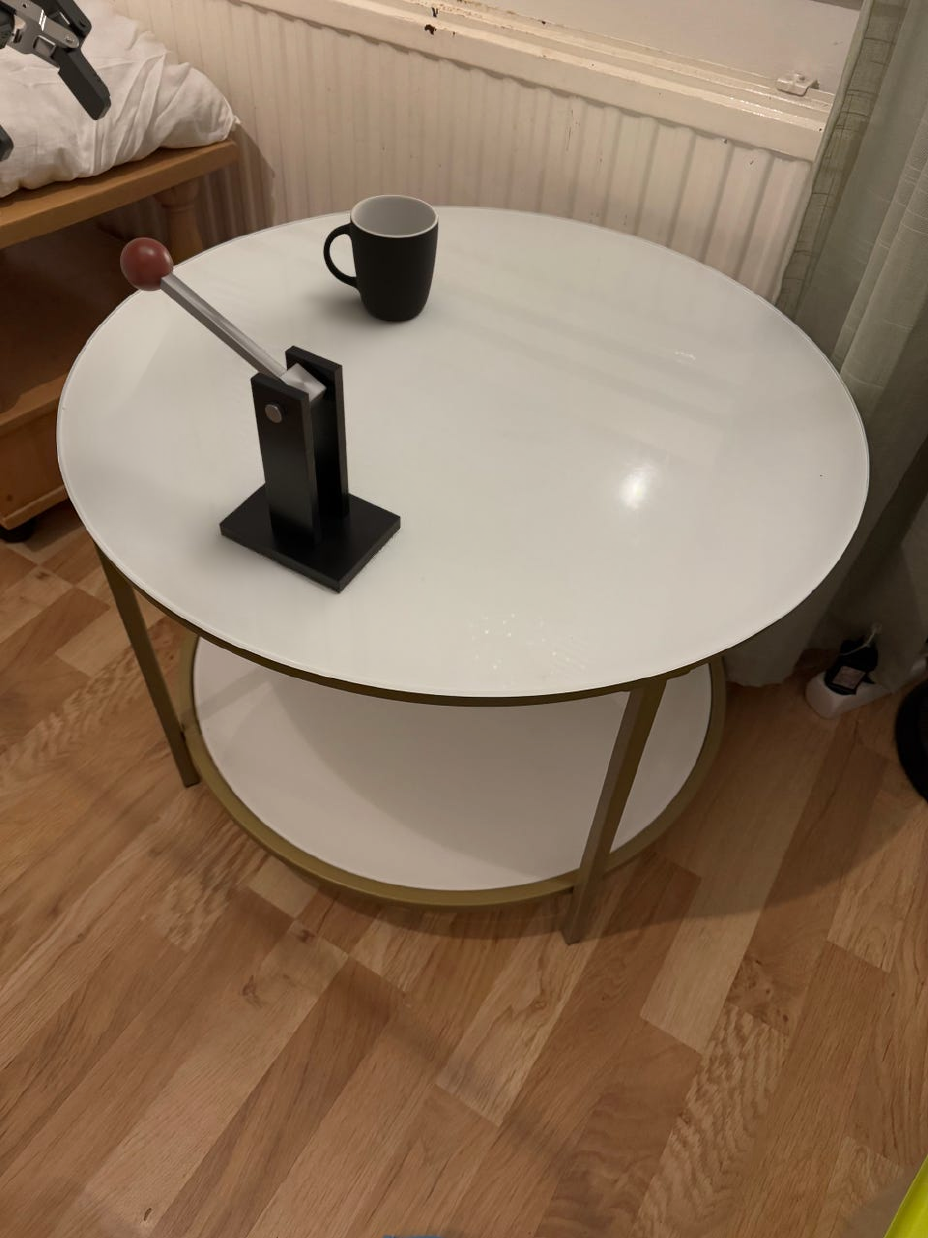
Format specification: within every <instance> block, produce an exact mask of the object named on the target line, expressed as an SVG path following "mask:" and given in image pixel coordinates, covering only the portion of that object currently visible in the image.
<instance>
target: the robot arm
mask: <svg viewBox="0 0 928 1238" xmlns="http://www.w3.org/2000/svg"><path fill="white" fill-rule="evenodd" d="M16 17H17V18H20V19H21V20H22V21H23V22H24V25H23V27H22V28H16ZM92 28H93V25H92V22H91V21H90V19H89V18H88V16H86V14H85V13H84V11H83V10H82V9H81V7H80V6H79V5H78V4H77V3H76V1H75V0H0V50H3V49H5V48H6V46H7V47H10V48H11V49H13V50H14V51H16V52H18V53H19V54H22V55H34V56H35V57H37V58H39V59H41V60H43V61H45V62H46V63H48V64H49V65H51V66H53V67H55V68H56V69H59V70H58V71H57V75H58V77H59V78H60V79H61V80H62V82H63V83H64V84H65V86H66V88H68V90H69V91H70V92H71V94H72V95H73V96H74V98H75V99H76V101H77V102H78V103H79V104H80V106H81V107H82V109H84V111H85V112H86V113H87V115H88V116H89V118H90V119H91V120H92V121H95V122H96V121H99V120H101V119H103V118H105V116H106V115H107V113H108V112H109V110H110V109H111V107H112V99H111V93H110V90H109V87H108V86H107V84H105V82H104V81H103V80H102V77H100V76H99V74H98V73H97V71H96V70H95V68H94V67H93V66H92V64H91V63H90V61H89V60H88V58H86V56H85V55H84V53H83V51H82V48H83V45H84V43H85V41H86V39H87V38H88V36H89V34H90V33H91V31H92ZM44 38H45V39H44ZM14 148H15V144H14V141H13V139H12V137H11V136H10V135H9V133H8V132H7V131H6V130H5V129H4V127H3V126H2V125H1V124H0V163H2V162H5V161H7V160H9V158H10V156H11V154H12V152H13V150H14Z"/></svg>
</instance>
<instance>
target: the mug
mask: <svg viewBox="0 0 928 1238" xmlns="http://www.w3.org/2000/svg"><path fill="white" fill-rule="evenodd" d="M342 235H346V236H348V237H349V240H350V244H351V250H352V252H351V253H352V258H353V266H354V273H355V276H350V275H348V274H346V273H344V272H343V271H342V270H340V269H339V268H338V267H337V265H335V263H334V261H333V260H332V256H331V245H332V243H333V242H334V240H335V239H337V238H338V237H339V236H342ZM438 237H439V216H438V213H437V211H436V209H435V208H434V207H433V206H432V205H431V204H429V203H427V202H426V201H423V200H421V199H418V198H415V197H413V196H409V195H402V194H401V195H400V194H382V195H375V196H371V197H368V198H365V199H362V200H361V201H359V202H358V203H356V204H355V205H354V206H353V207H352V208H351V210H350V215H349V222H348V223H345V224H342V225H339V226H338V227H335V228H333V230H331V232H329V234H327V236H326V238H325V241H324V243H323V248H322V249H323V250H322V252H323V253H322V254H323V260H324V263H325V265H326V268H327V270H328V271H329V272H330V274H331V275H332V276H333V277H334V278H335V279H336V280H338V281H340V282H341V283H342V284H345V285H347V286H350V287H353V288H354V289H356V290H357V291H358V293H359V296H360V298H361V301H362V303H363V305H364V307H365V309H366V310H367V311H368V312H369V313H370V314H371V315H372V316H374V317H376V318H378V319H379V320H380V319H381V320H385V321H390V322H400V321H401V322H402V321H407V320H410V319H413V318H415V317H417V316H419V314H420V313H421V312H423V309H424V308H425V306H426V304H427V302H428V299H429V295H430V293H431V288H432V284H433V278H434V274H435V273H434V272H435V265H436V258H437V248H438V239H439V238H438Z"/></svg>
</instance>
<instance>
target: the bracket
mask: <svg viewBox="0 0 928 1238" xmlns="http://www.w3.org/2000/svg"><path fill="white" fill-rule="evenodd" d="M284 357H285V364H286V365H285V366H286V370H289V369H290V368H291V367H292V366H294V365H295V364H296V363H298V364H299V365H300V366H302V367H303V368H304V369H305V370H306V371H307V372H309V373H310V374H311V375H312V376H313V377H315V378H316V379H317V380H318V381H319V382H320V383H322V384H323V385H324V386H325V387H326V390H325V393H324V395H323V397H322V399H321V401H320V404H319V406H318V408H317V409H315V410H314V411H313V412H312V413H310V401H309V393H307V392H305V391H302V390H300V389H297V388H295V387H293V386H290V385H288V384H286V383H283V382H281V381H279V380H276V379H274V378H272V377H269V376H267V375H264V374H262V373H260V372H258V371H257V373H255V374H254V375H253V376H251V377H250V378H249V381H250V387H251V395H252V401H253V402H252V403H253V408H254V409H253V410H254V417H255V422H256V431H257V436H258V444H259V451H260V456H261V457H260V458H261V465H262V470H263V471H262V472H263V478H264V483H263V484H262V485H260V487H258V489H255V491H254V492H253V493H251V494H250V495H249V496H248V497H247V498H246V499H245V500H244V501H242V503H240V504H239V505H238V506H237V507H236V508H234V510H232V511H231V512H230V513H229V514H228V515H227V516H226V517H224V519H222V520H221V521H220V522H219V523H218V525H219V530H220V535H222V536H223V537H225V538H227V539H229V540H230V541H233V542H236V543H237V544H240V545H242V546H243V547H245V548H248V549H250V550H252V551H254V552H256V553H257V554H260V555H262V556H264V557H266V558H268V559H270V560H272V561H274V562H276V563H278V564H280V565H281V566H284V567H286V568H288V569H290V570H293V571H294V572H296V573H298V574H301V575H302V576H304V577H306V578H308V579H310V580H313V581H314V582H317V583H318V584H320V585H323V586H325V587H326V588H329V589H331V590H333V591H334V592H336V593H338V594H341V593H342V592H343V590H344V589H345V588H346V587H347V586H348V585H349V584H350V583H351V582H352V581H353V579H355V577H356V576H357V575H358V574H359V573H360V572H361V571H362V570H363V569H364V567H366V566H367V564H368V563H369V562H370V561H371V560H372V559H373V558H374V557H375V556H376V555H377V553H378V552H379V551H380V550H382V548H383V547H384V546H385V545H386V544H387V543H388V542H389V541H390V540H391V538H392V537H393V536H394V535H395V534H396V533H397V532H398V530H399V529H400V528H401V527H402V525H401V523H402V519H401V518H402V517H401V516H400V515H399V514H396V513H394V512H392V511H390V510H387V509H385V508H383V507H381V506H379V505H376V504H374V503H372V502H370V501H368V500H365V499H363V498H362V497H359V496H357V495H355V494H352V493H350V489H349V488H350V487H349V469H348V453H347V452H348V449H347V430H346V411H345V410H346V409H345V391H344V373H343V372H344V371H343V369H344V368H343V364H340V363H338V362H335V361H333V360H331V359H328V358H326V357H323V356H321V355H319V354H316V353H314V352H311V351H308V350H306V349H303V348H301V347H298V346H296V345H291V346H290V347H288V348H287V349H286V350H285V351H284Z"/></svg>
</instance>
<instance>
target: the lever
mask: <svg viewBox="0 0 928 1238" xmlns="http://www.w3.org/2000/svg"><path fill="white" fill-rule="evenodd" d="M119 258H120V259H119V260H120V261H119V263H120V269H121V273H122V274H123V276H124V278H125V279H126V281H127V282H128V283H129V284H130V285H131V286H133V287H134V288H136V289H137V290H139V291H143V292H157V291H160V290H161V291H162V292H163V293H165V294H166V295H167V296H168V297H169V298H170V299H172V300H173V301H174V302H175V303H176V304H178V305H179V306H180V307H181V308H182V309H183V310H185V311H186V312H187V313H188V314H190V315H191V316H192V317H193V318H194V319H195V320H196V321H198V322H199V323H200V324H201V325H203V326H204V327H205V328H206V329H207V330H209V331H210V332H211V333H212V334H213V335H215V336H216V338H217V339H219V340H220V341H221V342H223V343H224V344H225V345H226V346H227V347H229V348H230V349H231V350H232V351H233V352H234V353H236V354H237V355H238V356H239V357H240V358H242V359H243V360H244V361H245V362H246V363H248V365H250V366H251V367H252V368H253V369H255V370H256V371H257V373H258V372H260V373H262V374H264V375H267V376H269V377H272V378H274V379H276V380H279V381H281V382H283V383H286V384H288V385H290V386H293V387H295V388H297V389H300V390H302V391H305V392H307V393H309V401H310V413H312V412H313V411H314V410H315V409H317V408H318V406H319V404H320V401H321V399H322V397H323V395H324V393H325V390H326V387H325V386H324V385H323V384H322V383H320V382H319V381H318V380H317V379H316V378H315V377H313V376H312V375H311V374H310V373H309V372H307V371H306V370H305V369H304V368H303V367H302V366H300V365H299V364H298V363H296V364H295V365H294V366H292V367H291V368H290V369H289V370H287V368H285V367H284V365H282V364H281V363H279V362H278V360H276V359H275V358H273V357H272V356H271V355H270V354H269V353H268V352H266V351H265V350H264V349H263V348H262V347H261V346H259V345H258V344H257V343H256V342H254V341H253V340H252V339H251V338H250V337H248V336H247V335H246V334H245V333H244V332H243V331H241V330H240V329H239V327H237V326H235V324H233V323H232V322H231V321H230V320H229V319H227V318H226V317H225V316H224V315H222V314H221V313H220V312H219V311H218V310H217V309H215V308H214V307H213V306H212V305H211V304H209V303H208V302H207V301H206V300H205V299H204V298H202V297H201V296H200V295H199V294H198V293H197V292H195V291H194V290H193V289H192V288H191V287H189V285H187V284H186V283H184V281H182V280H181V279H180V278H179V277H177V276H176V275H175V274H174V261H173V258H172V256H171V253H170V252H169V250H168V249H167V248H166V246H165V245H163V244H162V243H161V242H160V241H158V240H156V239H154V238H151V237H137V238H134V239H132V240H131V241H129V242H128V243H127V244H126V245H124V247H123V249H122V251H121V254H120V257H119Z"/></svg>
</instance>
